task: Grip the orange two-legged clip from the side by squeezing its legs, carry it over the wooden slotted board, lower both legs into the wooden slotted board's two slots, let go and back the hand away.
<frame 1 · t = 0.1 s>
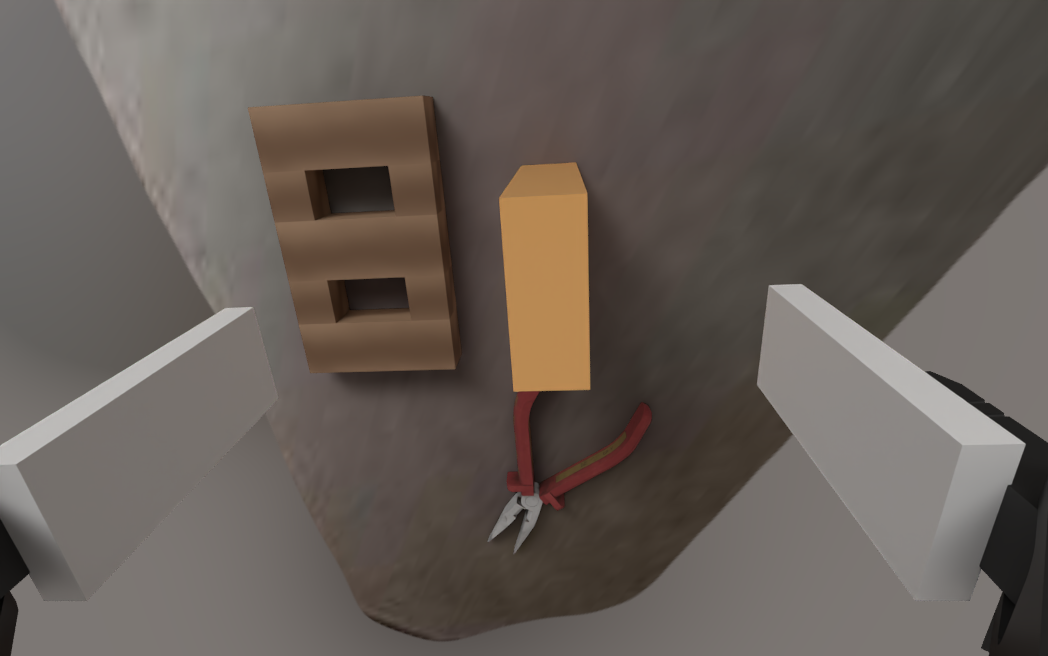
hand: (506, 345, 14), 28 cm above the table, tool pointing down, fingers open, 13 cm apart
clip: (551, 231, 41), on the table
wooden slotted board: (373, 240, 42), on the table
pliers: (538, 446, 49), on the table
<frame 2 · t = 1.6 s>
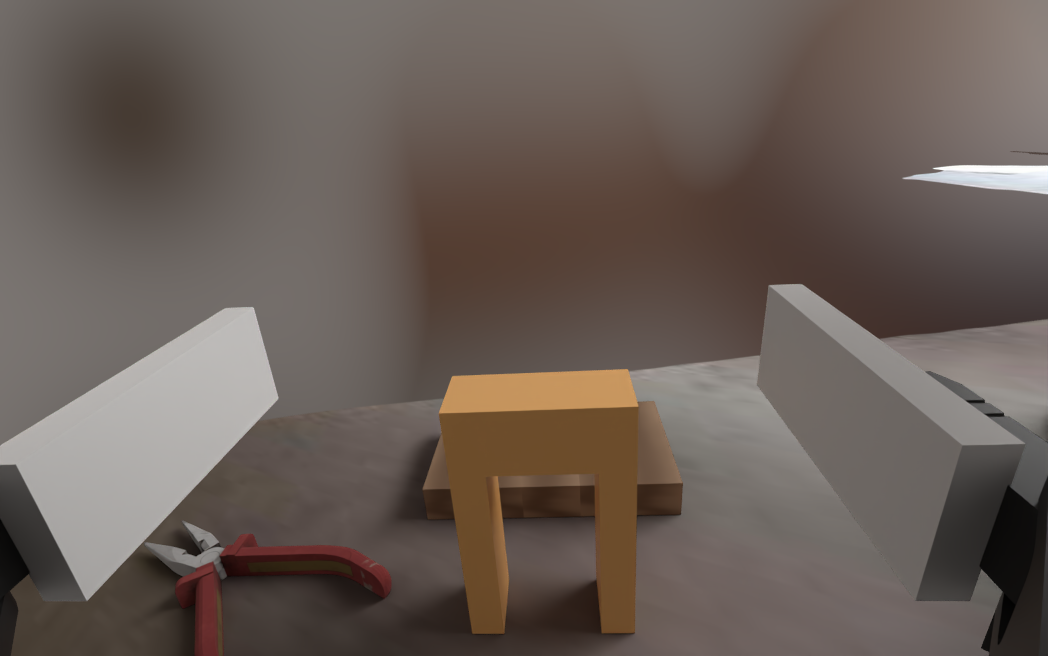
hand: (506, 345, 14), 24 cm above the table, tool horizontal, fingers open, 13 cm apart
clip: (552, 605, 34), on the table
wooden slotted board: (552, 468, 47), on the table
pliers: (271, 588, 38), on the table
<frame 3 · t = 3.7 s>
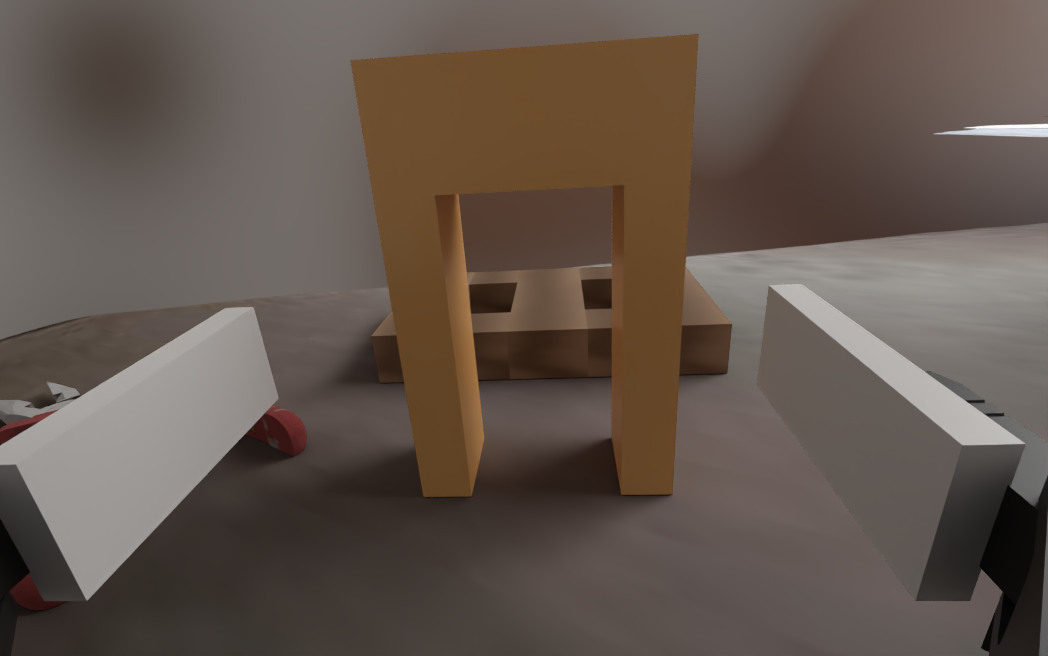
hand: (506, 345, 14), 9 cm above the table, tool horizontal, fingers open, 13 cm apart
clip: (546, 464, 23), on the table
wooden slotted board: (550, 336, 36), on the table
pliers: (144, 452, 27), on the table
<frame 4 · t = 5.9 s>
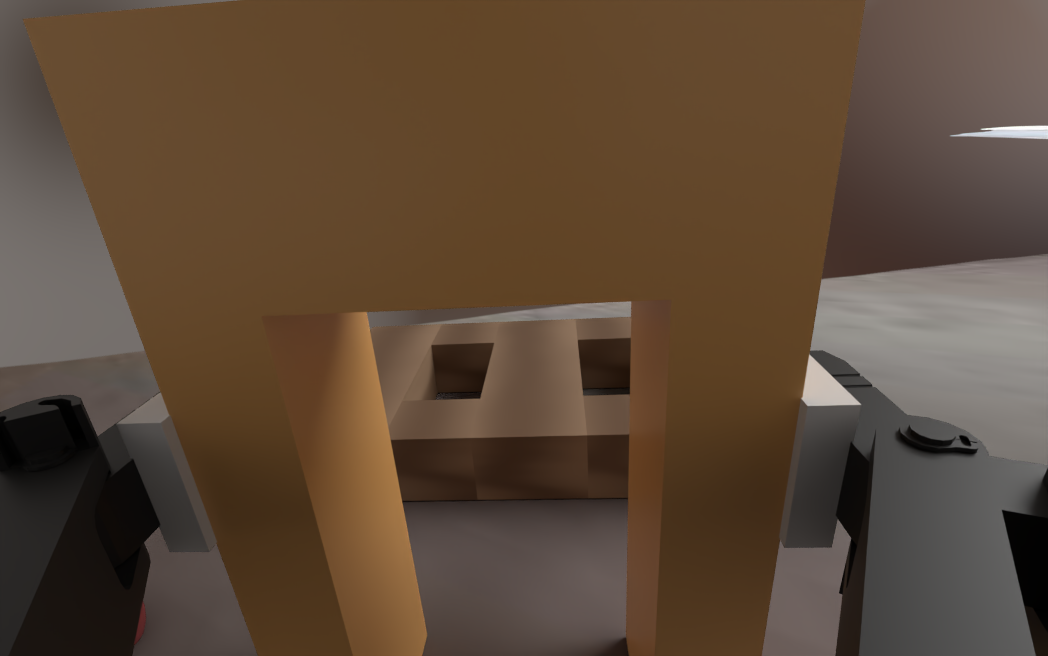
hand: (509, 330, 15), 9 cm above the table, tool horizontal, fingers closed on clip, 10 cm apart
wooden slotted board: (537, 418, 27), on the table
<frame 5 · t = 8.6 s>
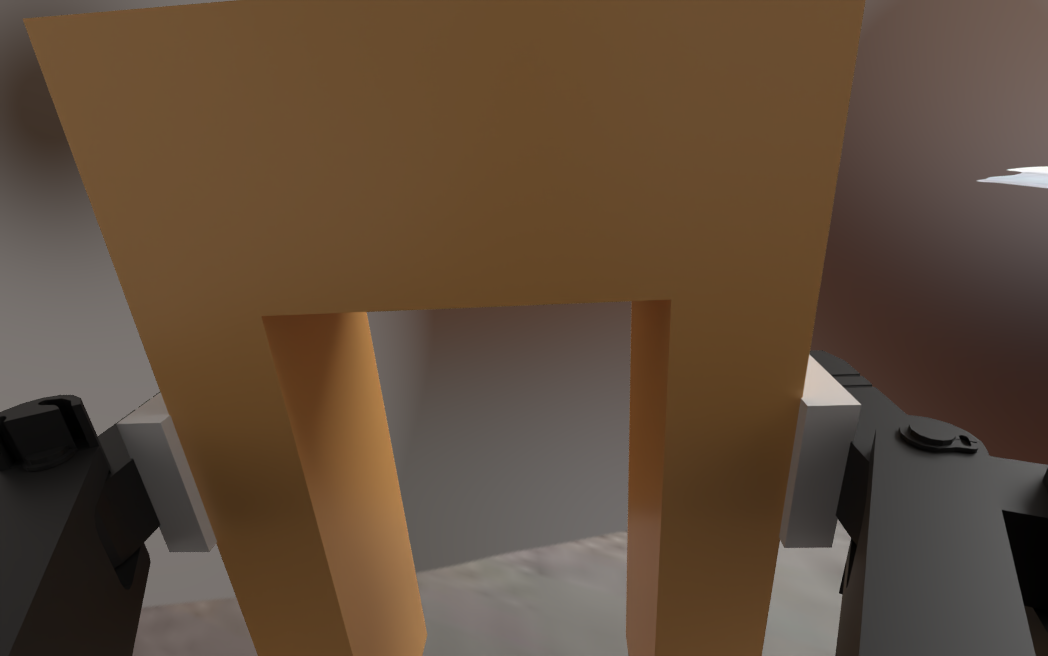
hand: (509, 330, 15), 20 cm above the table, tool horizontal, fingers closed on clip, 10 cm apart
when the fingers open (10 cm above the table, at t = 11.4 s): clip stays where it is, resting in wooden slotted board.
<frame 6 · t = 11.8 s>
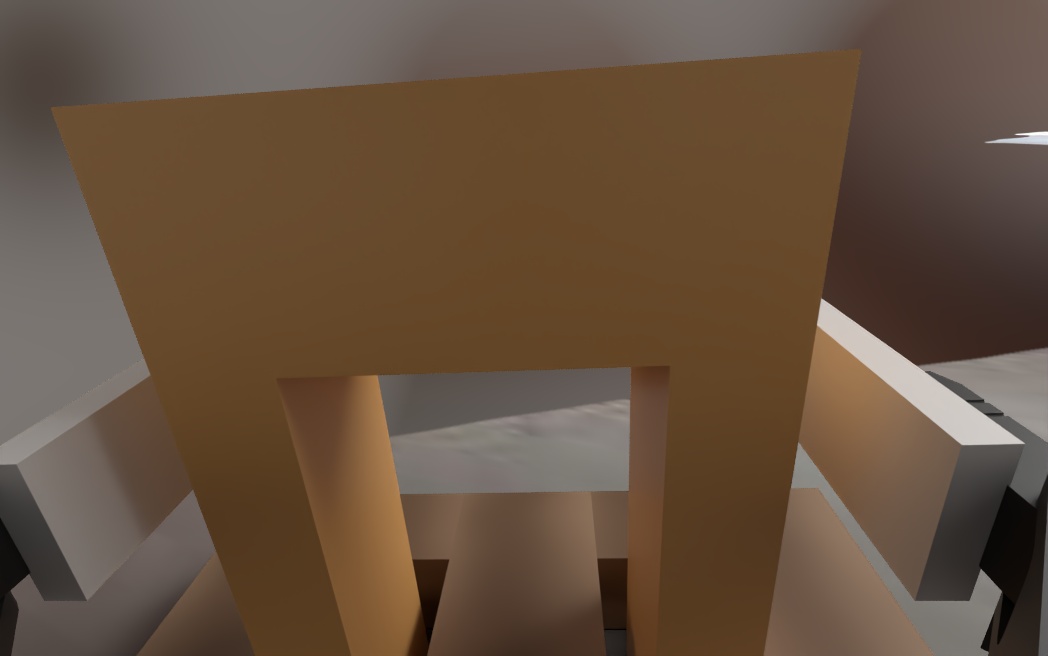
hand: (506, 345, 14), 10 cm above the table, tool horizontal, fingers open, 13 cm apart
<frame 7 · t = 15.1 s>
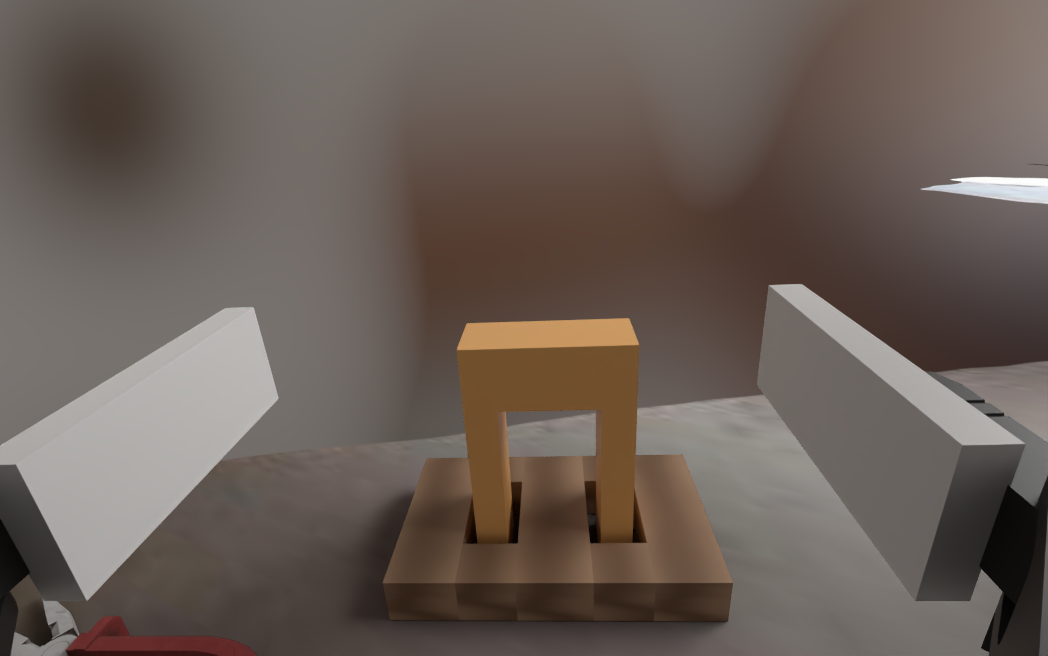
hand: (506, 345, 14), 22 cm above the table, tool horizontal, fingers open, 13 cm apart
clip: (554, 545, 37), resting in wooden slotted board
wooden slotted board: (554, 544, 37), on the table
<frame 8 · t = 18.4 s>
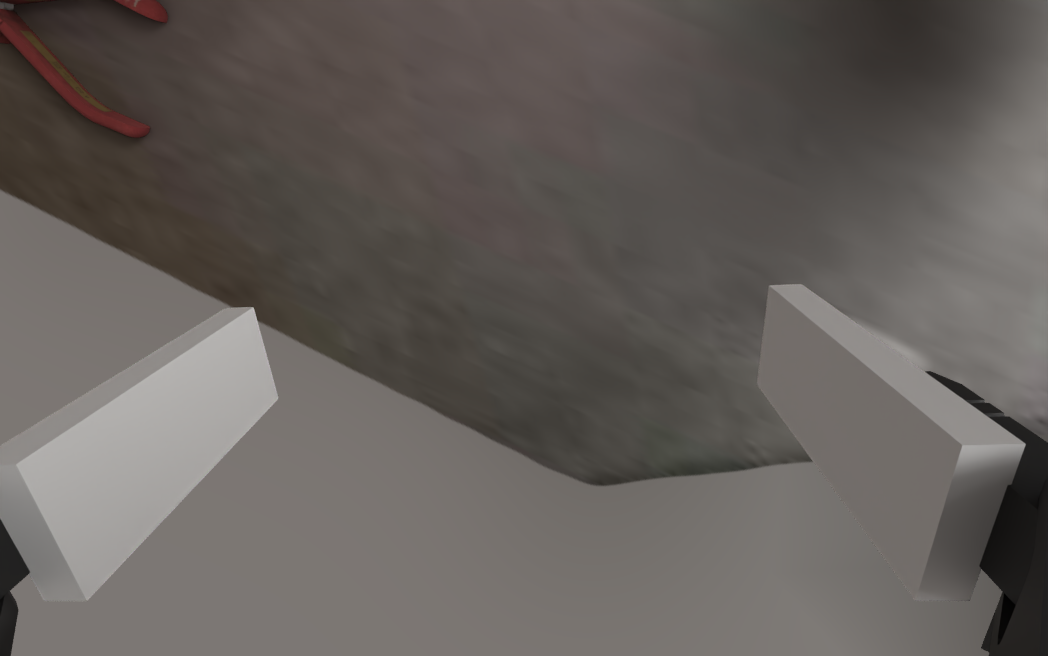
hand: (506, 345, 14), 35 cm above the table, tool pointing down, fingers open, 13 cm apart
pliers: (62, 9, 43), on the table
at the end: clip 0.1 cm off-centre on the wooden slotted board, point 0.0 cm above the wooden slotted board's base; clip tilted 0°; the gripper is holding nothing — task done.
